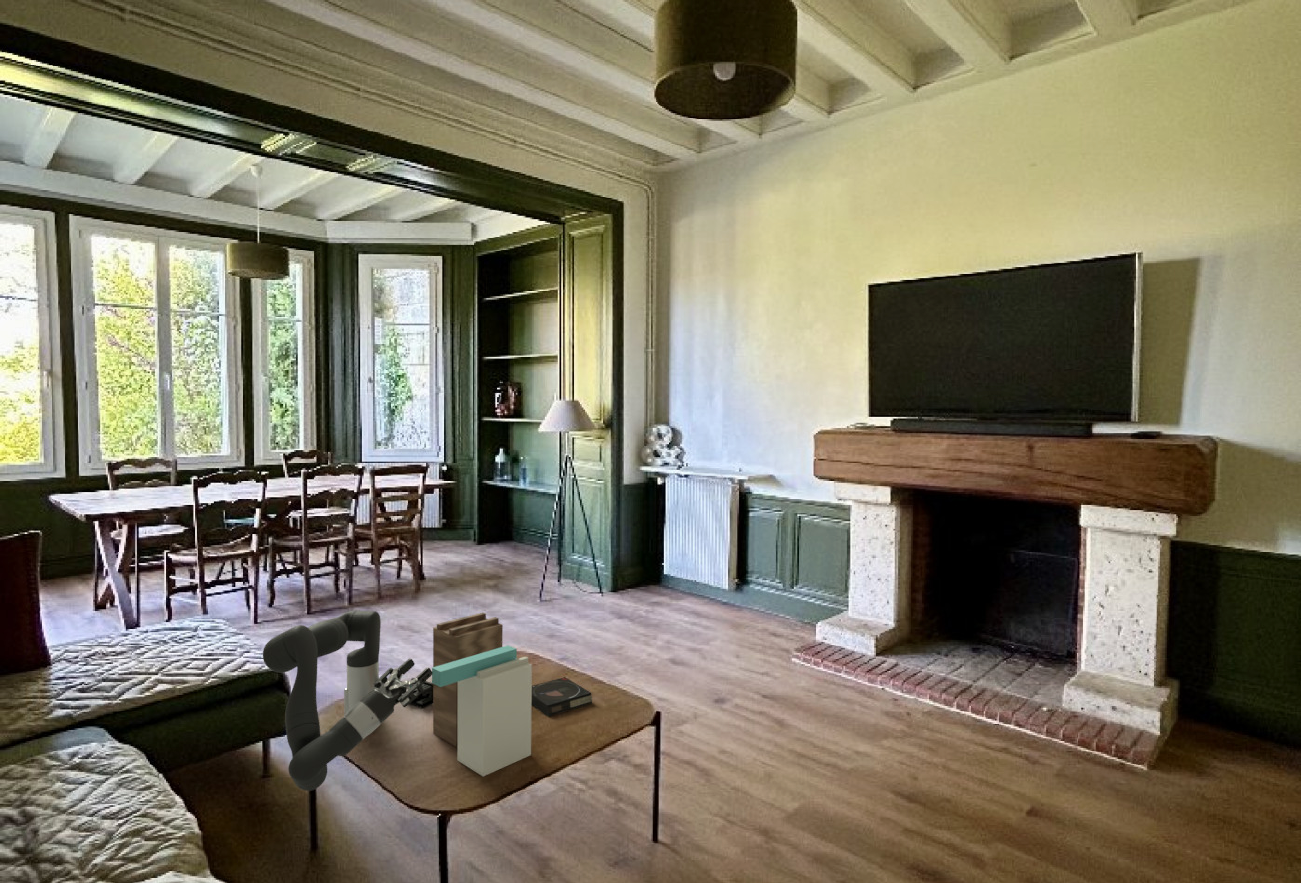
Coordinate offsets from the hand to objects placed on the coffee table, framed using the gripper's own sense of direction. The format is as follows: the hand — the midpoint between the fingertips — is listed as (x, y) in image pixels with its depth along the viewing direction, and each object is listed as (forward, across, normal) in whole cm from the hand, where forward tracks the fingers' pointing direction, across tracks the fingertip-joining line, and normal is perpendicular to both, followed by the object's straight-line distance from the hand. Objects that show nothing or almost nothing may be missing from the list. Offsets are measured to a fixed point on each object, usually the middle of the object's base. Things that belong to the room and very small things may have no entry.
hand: (421, 665), depth 183 cm
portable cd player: (+34, +15, +58) cm, 69 cm away
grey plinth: (+3, -1, +39) cm, 39 cm away
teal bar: (+11, 0, +13) cm, 17 cm away
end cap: (+7, +47, +42) cm, 63 cm away
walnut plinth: (+6, +18, +41) cm, 45 cm away
